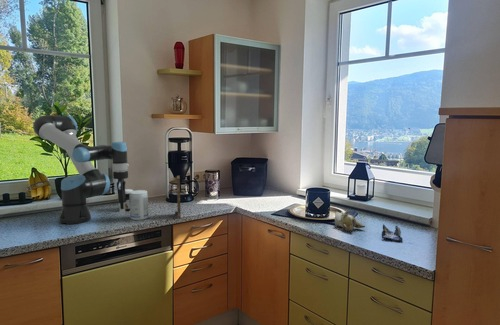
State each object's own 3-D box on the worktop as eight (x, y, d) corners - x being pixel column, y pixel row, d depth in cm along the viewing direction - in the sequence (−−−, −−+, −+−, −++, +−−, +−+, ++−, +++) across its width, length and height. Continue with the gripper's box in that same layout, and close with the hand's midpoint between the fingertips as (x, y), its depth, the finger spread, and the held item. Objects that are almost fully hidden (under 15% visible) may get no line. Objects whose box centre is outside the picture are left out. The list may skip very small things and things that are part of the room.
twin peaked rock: (411, 238, 170) (386, 231, 178) (411, 225, 168) (386, 219, 177) (398, 249, 162) (372, 241, 170) (398, 235, 160) (372, 228, 169)
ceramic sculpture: (343, 206, 191) (367, 214, 179) (342, 222, 193) (365, 231, 180) (328, 210, 185) (352, 218, 173) (327, 226, 187) (351, 236, 174)
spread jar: (116, 210, 218) (115, 191, 216) (128, 206, 229) (127, 187, 227) (133, 212, 214) (133, 192, 213) (145, 207, 225) (144, 188, 224)
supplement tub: (144, 214, 208) (143, 189, 206) (151, 218, 201) (150, 191, 199) (127, 217, 202) (126, 191, 200) (134, 221, 195) (133, 194, 193)
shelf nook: (171, 219, 200) (170, 178, 197) (171, 214, 209) (170, 175, 207) (180, 218, 201) (179, 178, 198) (180, 213, 210) (179, 175, 208)
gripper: (126, 172, 191) (128, 217, 193) (129, 169, 203) (131, 211, 206) (110, 172, 189) (113, 217, 192) (115, 169, 202) (117, 211, 205)
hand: (122, 214), depth 199 cm, fingers closed
